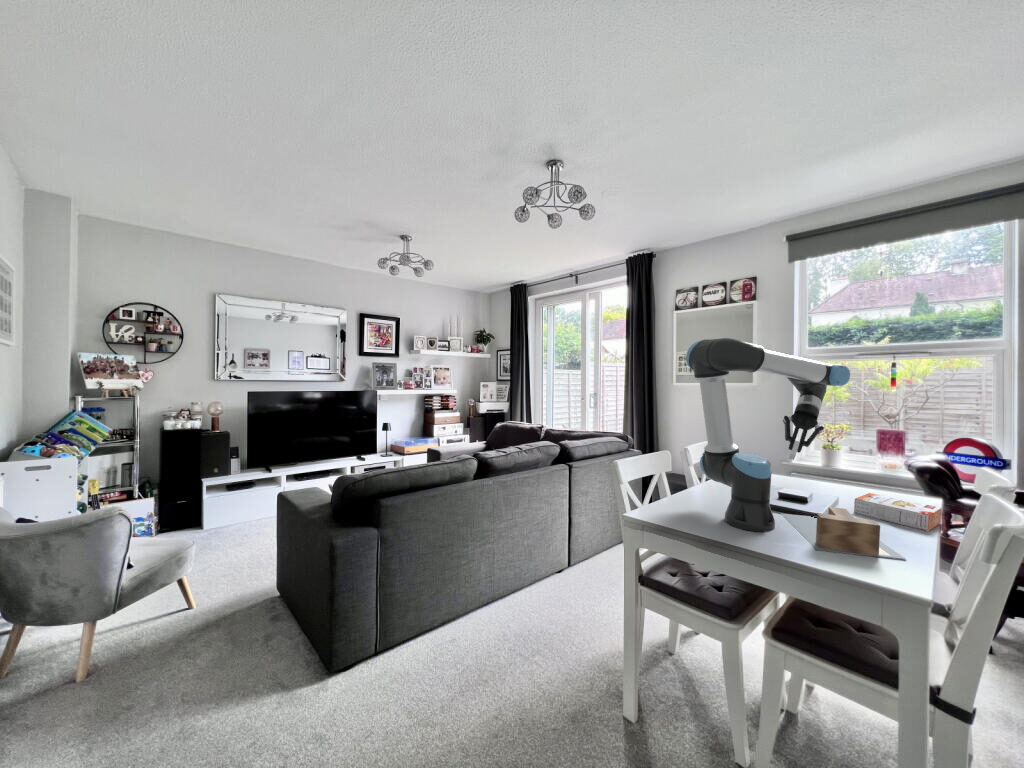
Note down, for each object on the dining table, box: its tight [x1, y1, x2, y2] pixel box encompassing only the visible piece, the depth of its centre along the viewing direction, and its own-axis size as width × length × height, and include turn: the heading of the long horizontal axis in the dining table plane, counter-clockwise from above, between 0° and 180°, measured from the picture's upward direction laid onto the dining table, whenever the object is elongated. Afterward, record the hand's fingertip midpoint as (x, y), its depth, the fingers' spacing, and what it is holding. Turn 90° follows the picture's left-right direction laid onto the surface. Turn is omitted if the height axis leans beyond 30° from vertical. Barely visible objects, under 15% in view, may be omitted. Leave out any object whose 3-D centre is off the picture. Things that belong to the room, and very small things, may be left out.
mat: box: [780, 513, 906, 560], centre depth 139 cm, size 22×32×1 cm
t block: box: [816, 506, 881, 558], centre depth 131 cm, size 14×14×9 cm
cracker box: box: [853, 492, 943, 532], centre depth 155 cm, size 14×6×21 cm
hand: (792, 457), depth 150 cm, fingers closed
